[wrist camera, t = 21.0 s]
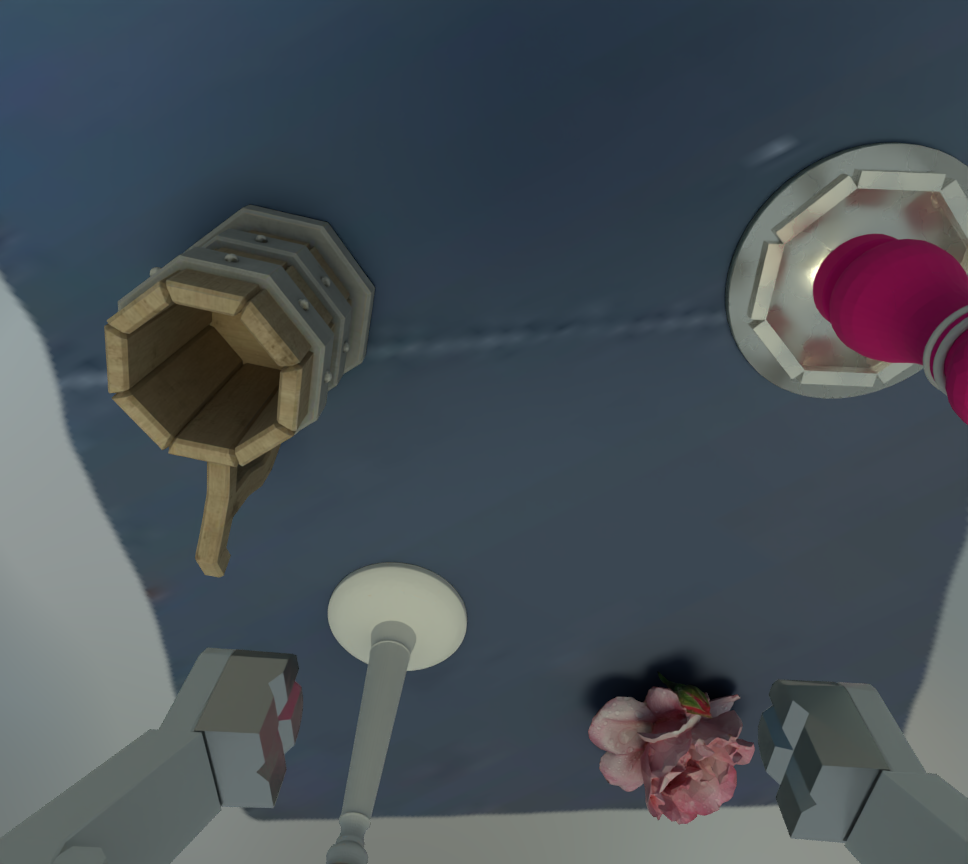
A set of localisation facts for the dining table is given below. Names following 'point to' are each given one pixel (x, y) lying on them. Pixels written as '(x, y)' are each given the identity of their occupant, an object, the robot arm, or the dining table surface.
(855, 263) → the pepper mill
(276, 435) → the tankard
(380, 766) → the candlestick
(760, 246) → the silver metal plate
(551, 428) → the dining table surface
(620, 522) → the dining table surface
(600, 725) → the flower
